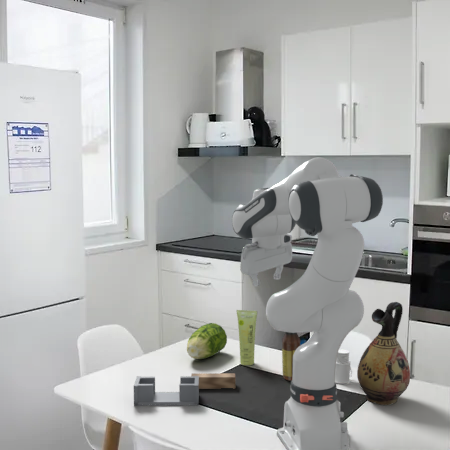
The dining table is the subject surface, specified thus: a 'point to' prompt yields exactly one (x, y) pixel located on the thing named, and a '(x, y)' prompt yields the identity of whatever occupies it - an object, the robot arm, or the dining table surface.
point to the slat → (215, 380)
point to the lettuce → (206, 341)
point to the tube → (247, 335)
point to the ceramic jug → (384, 360)
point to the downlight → (343, 367)
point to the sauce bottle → (289, 353)
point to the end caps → (148, 396)
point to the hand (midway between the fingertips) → (266, 282)
